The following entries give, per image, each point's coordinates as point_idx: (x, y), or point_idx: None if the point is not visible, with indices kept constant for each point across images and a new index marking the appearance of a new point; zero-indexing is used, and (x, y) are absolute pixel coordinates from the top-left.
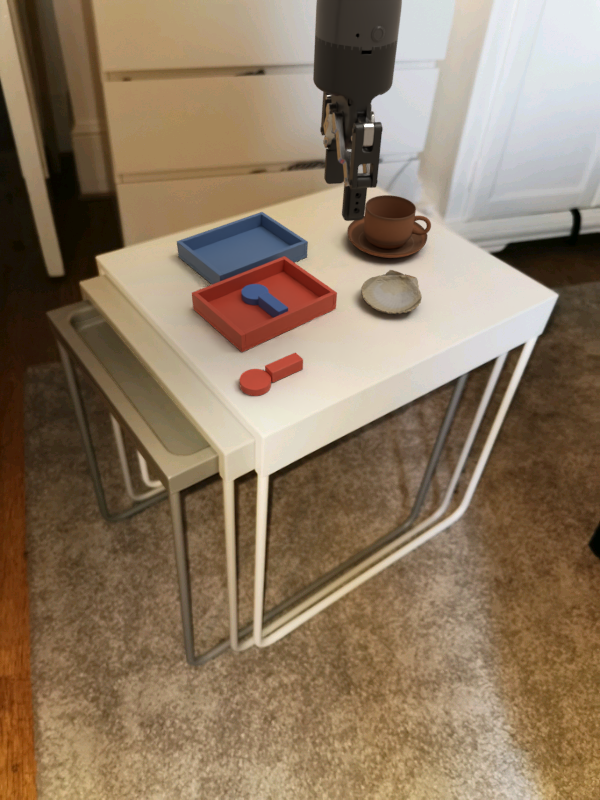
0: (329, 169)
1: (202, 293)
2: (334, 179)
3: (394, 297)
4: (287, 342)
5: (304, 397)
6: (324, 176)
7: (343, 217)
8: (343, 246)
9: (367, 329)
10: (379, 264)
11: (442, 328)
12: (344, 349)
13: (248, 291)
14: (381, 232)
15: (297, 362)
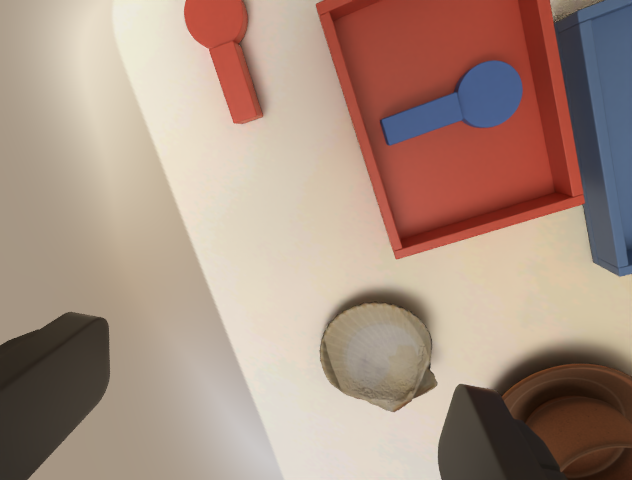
0: (481, 452)
1: None
2: (453, 429)
3: (382, 355)
4: (323, 121)
5: (172, 101)
6: (499, 399)
7: (66, 313)
8: (595, 346)
9: (316, 274)
10: (498, 378)
11: (283, 382)
12: (275, 215)
13: (495, 79)
14: (554, 429)
15: (229, 109)
